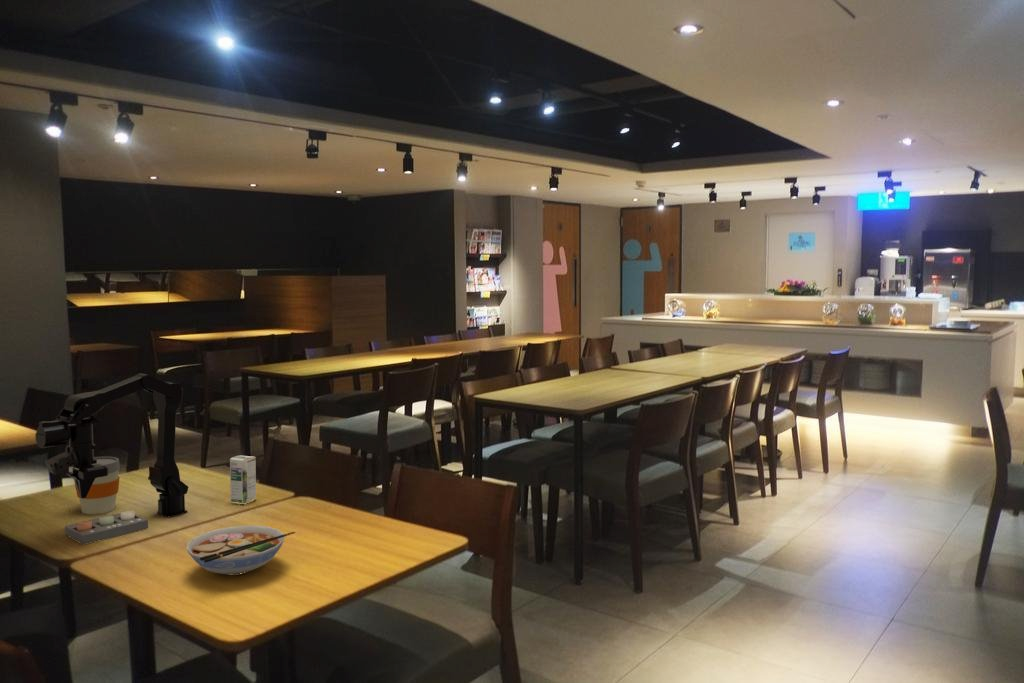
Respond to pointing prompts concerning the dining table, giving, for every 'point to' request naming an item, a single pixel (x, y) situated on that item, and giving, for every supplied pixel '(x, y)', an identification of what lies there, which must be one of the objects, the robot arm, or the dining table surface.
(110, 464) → the reusable coffee cup
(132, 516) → the button cream
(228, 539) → the ramen bowl
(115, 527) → the button panel
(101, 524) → the button sage
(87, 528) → the button terracotta
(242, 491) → the syrup box
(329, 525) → the dining table surface
